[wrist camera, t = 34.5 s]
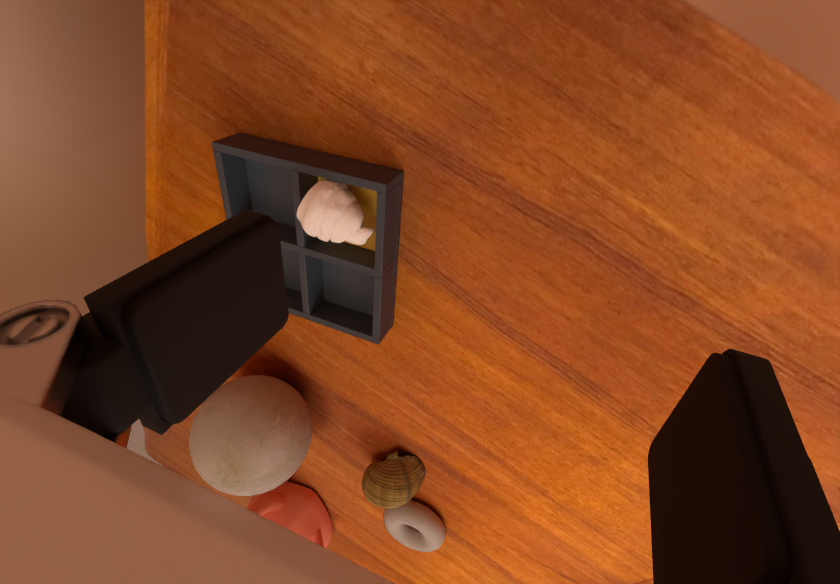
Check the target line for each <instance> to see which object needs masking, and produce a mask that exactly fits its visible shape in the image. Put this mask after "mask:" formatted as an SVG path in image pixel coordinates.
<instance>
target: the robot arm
mask: <svg viewBox="0 0 840 584" xmlns="http://www.w3.org/2000/svg"><path fill="white" fill-rule="evenodd" d="M84 299H85V302H86V304H87V306H88V308H89V310H90V312H89V313H87V314H86V315H84V316H82V315H81V313H80V311H79V309H78V308H77V306H76V305H74V304H73V303H71V302H68V301H62V300H43V301H38V302H32V303H28V304H24V305H21V306H18V307H15V308H13V309H10V310H8V311H6V312H4V313H1V314H0V584H395V583H393V582H391V581H389V580H387V579H385V578H383V577H381V576H379V575H378V574H376V573H374V572H372V571H370V570H368V569H366V568H364V567H362V566H360V565H358V564H356V563H354V562H352V561H350V560H348V559H346V558H344V557H342V556H340V555H338V554H336V553H334V552H332V551H330V550H328V549H326V548H324V547H322V546H320V545H318V544H316V543H314V542H312V541H310V540H308V539H306V538H304V537H302V536H300V535H298V534H296V533H294V532H292V531H290V530H288V529H286V528H284V527H282V526H280V525H278V524H276V523H274V522H272V521H270V520H268V519H266V518H264V517H262V516H260V515H258V514H256V513H255V512H253V511H251V510H249V509H247V508H245V507H243V506H241V505H239V504H237V503H235V502H233V501H231V500H229V499H227V498H225V497H223V496H221V495H219V494H217V493H215V492H213V491H211V490H209V489H207V488H205V487H203V486H201V485H199V484H197V483H195V482H193V481H191V480H189V479H187V478H185V477H183V476H181V475H179V474H177V473H175V472H173V471H171V470H169V469H166V468H164V467H162V466H160V465H158V464H156V463H154V462H152V461H150V460H148V459H146V458H144V457H142V456H140V455H138V454H136V453H134V452H132V451H130V450H128V449H126V448H127V444H128V440H129V435H130V431H131V425H132V424H133V423H134V422H135V421H137V420H138V419H140V421H141V423H142V425H143V426H144V427H146V428H149V429H151V430H153V431H155V432H157V433H159V434H161V435H162V434H163V433H165V432H166V431H167V430H168V429H169V428H170V427H171V426H172V425H173V424H176V423H180V422H182V421H183V420H184V419H186V418H187V417H188V416H189V415H190V414H191V413H192V412H193V411H194V410H195V409H196V408H197V407H198V406H199V405H201V404H202V403H203V402H204V401H205V400H206V399H207V398H208V397H209V396H210V395H211V394H212V393H213V392H214V391H215V390H216V389H218V388H219V387H220V386H221V385H222V384H223V383H224V382H225V381H226V380H227V379H228V378H229V377H230V376H231V375H232V374H234V373H235V372H236V371H237V370H238V369H239V368H240V367H241V366H242V365H243V364H244V363H245V362H246V361H247V360H248V359H249V358H251V357H252V356H253V355H254V354H255V353H256V352H257V351H258V350H259V349H260V348H261V347H262V346H263V345H264V344H265V343H267V342H268V341H269V340H270V339H271V338H272V337H273V336H274V335H275V334H276V333H277V332H278V331H279V330H280V329H281V328H283V326H284V325H285V324H286V322H287V319H288V315H289V312H288V303H287V294H286V286H285V277H284V268H283V260H282V251H281V242H280V234H279V228H278V226H277V225H276V224H275V223H274V220H273V219H272V218H271V217H270V216H268V215H264V214H261V213H257V212H254V211H251V210H245V211H242V212H240V213H239V214H237V215H235V216H233V217H231V218H229V219H227V220H226V221H224V222H222V223H220V224H218V225H216V226H215V227H213V228H211V229H209V230H207V231H205V232H203V233H202V234H200V235H198V236H196V237H194V238H192V239H190V240H189V241H187V242H185V243H183V244H181V245H179V246H177V247H176V248H174V249H172V250H170V251H168V252H166V253H164V254H163V255H161V256H159V257H157V258H155V259H153V260H151V261H150V262H148V263H146V264H144V265H142V266H140V267H139V268H137V269H135V270H133V271H131V272H129V273H127V274H126V275H124V276H122V277H120V278H118V279H116V280H114V281H113V282H111V283H109V284H107V285H105V286H103V287H101V288H100V289H98V290H96V291H94V292H92V293H90V294H88V295H87V296H85V297H84ZM648 470H649V492H650V514H651V536H652V558H653V579H654V584H840V531H839V529H838V526H837V524H836V521H835V519H834V516H833V514H832V511H831V509H830V506H829V504H828V501H827V499H826V496H825V494H824V492H823V489H822V487H821V484H820V482H819V479H818V477H817V474H816V472H815V469H814V467H813V464H812V462H811V460H810V458H809V457H808V455H807V453H806V450H805V448H804V445H803V443H802V440H801V438H800V435H799V433H798V430H797V428H796V425H795V423H794V420H793V418H792V415H791V413H790V410H789V408H788V405H787V403H786V400H785V398H784V395H783V393H782V390H781V388H780V385H779V383H778V380H777V378H776V375H775V373H774V370H773V368H772V365H771V363H770V362H769V360H767V359H765V358H761V357H758V356H754V355H751V354H747V353H744V352H740V351H737V350H733V349H728V350H726V351H725V352H723V354H718V353H713V354H711V355H710V356H709V358H708V359H707V361H706V362H705V364H704V365H703V367H702V368H701V370H700V371H699V372H698V374H697V375H696V377H695V378H694V380H693V381H692V383H691V384H690V386H689V387H688V389H687V390H686V392H685V393H684V395H683V396H682V398H681V399H680V401H679V402H678V404H677V405H676V407H675V408H674V410H673V411H672V413H671V414H670V416H669V417H668V419H667V420H666V422H665V423H664V425H663V426H662V428H661V429H660V431H659V432H658V434H657V435H656V437H655V438H654V440H653V442H652V443H651V446H650V449H649V454H648Z"/></svg>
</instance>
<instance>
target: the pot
mask: <svg viewBox="0 0 840 584" xmlns="http://www.w3.org/2000/svg"><path fill="white" fill-rule="evenodd" d="M247 509H249V510H251V511H253V512H255V513H256V514H258V515H260V516H262V517H264V518H266V519H268V520H270V521H272V522H274V523H276V524H278V525H280V526H282V527H284V528H286V529H288V530H290V531H292V532H294V533H296V534H298V535H300V536H302V537H304V538H306V539H308V540H310V541H312V542H314V543H316V544H318V545H320V546H322V547H324V548H326V547H327V545H328V543H329V541H330V538H331V534H332V523H331V520H330V517H329V514H328V512H327V510H326V508H325V507H324V505H323V503H322V502H321V500H320V498H319V497H318V496H317V494H316V493H315V492H314V491H313V490H311V489H309V488H307V487H304V486H301V485H298V484H294V483H291V482H288V481H285V482H284V483H282V484H281V485H279V486H278V487H276V488H274V489H272V490H270V491H267V492H265V493H261V494H257V495H254V496H253V498H252V499H251V501H250V503H249V504H248V506H247Z"/></svg>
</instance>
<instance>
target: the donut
mask: <svg viewBox="0 0 840 584" xmlns="http://www.w3.org/2000/svg"><path fill="white" fill-rule="evenodd" d="M383 519H384V524H385V527H386V529H387V530H388V532H389V533H390V534H391V535H392V536H393V537H394V538H395V539H396V540H397V541H399V542H400V543H401V544H403V545H405V546H407V547H409V548H411V549H414V550H417V551H422V552H431V551H434V550H436V549H438V548H439V547H440V546H441V545H442V543H443V542H444V540H445V528H444V526H443V523H442V521H441V519H440V518H439V517H438V516H437V515H436V513H434V512H433V511H432V510H431V509H429V508H428V507H426V506H424V505H423V504H421V503H419V502H416V501H413V500H410V501H408V502H407V503H406V504H404V505H402V506H399V507H396V508H386V509H385V511H384V514H383Z"/></svg>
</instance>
